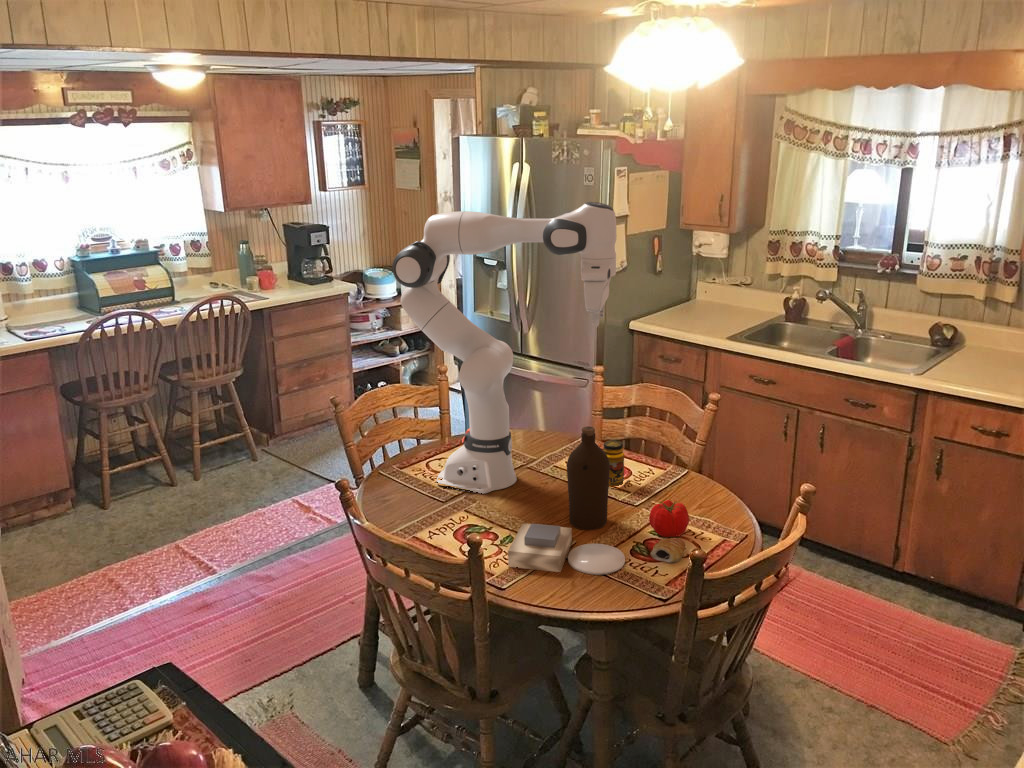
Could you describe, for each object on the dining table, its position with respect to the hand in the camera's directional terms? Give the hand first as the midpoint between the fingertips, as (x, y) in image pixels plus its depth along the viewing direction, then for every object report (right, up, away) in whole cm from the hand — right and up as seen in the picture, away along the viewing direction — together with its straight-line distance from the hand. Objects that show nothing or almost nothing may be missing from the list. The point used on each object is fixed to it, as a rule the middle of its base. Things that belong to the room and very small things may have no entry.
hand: (597, 321), depth 215 cm
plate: (-3, -56, -23) cm, 61 cm away
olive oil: (-3, -51, -4) cm, 51 cm away
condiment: (+5, -44, +19) cm, 48 cm away
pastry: (+14, -56, -21) cm, 61 cm away
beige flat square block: (-15, -56, -19) cm, 61 cm away
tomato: (+16, -52, -10) cm, 56 cm away
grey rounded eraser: (-15, -52, -21) cm, 58 cm away
